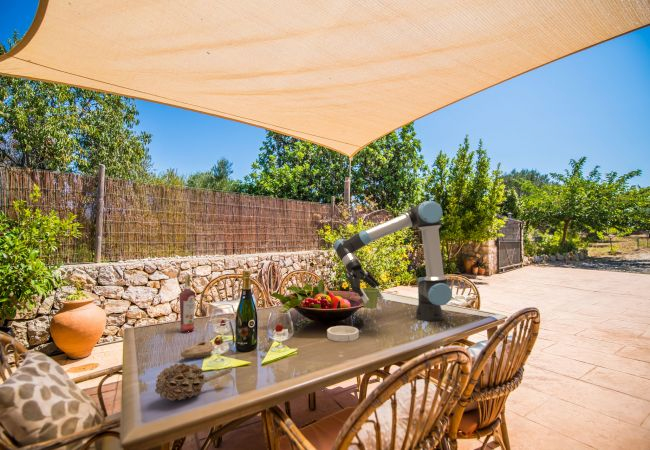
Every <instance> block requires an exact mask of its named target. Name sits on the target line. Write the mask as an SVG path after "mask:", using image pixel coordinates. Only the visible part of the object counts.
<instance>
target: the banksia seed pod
mask: <svg viewBox="0 0 650 450" xmlns="http://www.w3.org/2000/svg"><path fill="white" fill-rule="evenodd" d="M233 368H234V369H235V367H233V366H232V365H231V366H228V367H227V368H226V369H223V370H222V371H220V372H217V373H215V374H213V375H209V376H205V374H203V369H202V367H200V366H198V365H197V364H196V363H192V364H188V363H185V362H180V363H179V364H178V363H175V364H174V365H170V366H169V367H165V368H163V369H162V370H161V371H160V372H159V374H157V376H156V378H157V379H156V380H155V387H156V388H155V389H154V391H155V393H156V394H157V395H159V397H160V398H164V400H165V399H168V400H170V401H172V402H173V401H176V400H178V401H180V400H185V399H186V398H187V397H188V398H190V399H191V398H192V397H193V396H198V394H199V393H201V391H202V389H203V385H205V383H208V382H211V381H214V380H216V379H218V378H221V377H223V376H225V375H227V374H230V373H233V371H232V370H233Z"/></svg>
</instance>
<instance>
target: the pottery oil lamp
mask: <svg viewBox="0 0 650 450" xmlns="http://www.w3.org/2000/svg"><path fill="white" fill-rule="evenodd" d="M214 349H215V346H214V345H213V341H205V340H200V341H198V342H196V343H194V344H193V345H191V346H189V347H187V348H185V349H183V350H182V351H181V352H180V357H182V358H185V359H188V358H189V359H190V358H195V359H201V358H205V357H206V356H207V355H209V354H210V353H212V351H214ZM205 355H206V356H205ZM204 356H205V357H204Z"/></svg>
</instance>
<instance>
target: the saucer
mask: <svg viewBox="0 0 650 450" xmlns="http://www.w3.org/2000/svg"><path fill="white" fill-rule="evenodd" d="M326 336H327V339H328V340H330V341H333V342H339V343H341V342H342V343H347V342H354V341H356V340H358V339H359V337H360V330H359V329H358V328H357V327H354V326H351V325H336V326H331V327H330V326H329V328H327V329H326Z"/></svg>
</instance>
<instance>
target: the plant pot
mask: <svg viewBox="0 0 650 450" xmlns="http://www.w3.org/2000/svg"><path fill="white" fill-rule="evenodd" d="M362 289H363V291H364V292H365V294H366V296H367V297H368V299H369V300H368V302H367V303H364V301H363V300H362V305H363V308H365V309H369V310H370V309H371V310H372V309H376V308H377V307H378V306H377V305H378V300H379V298H378V294H379V291H381V289H380V288H379V289H377V288H372V287H362Z"/></svg>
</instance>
